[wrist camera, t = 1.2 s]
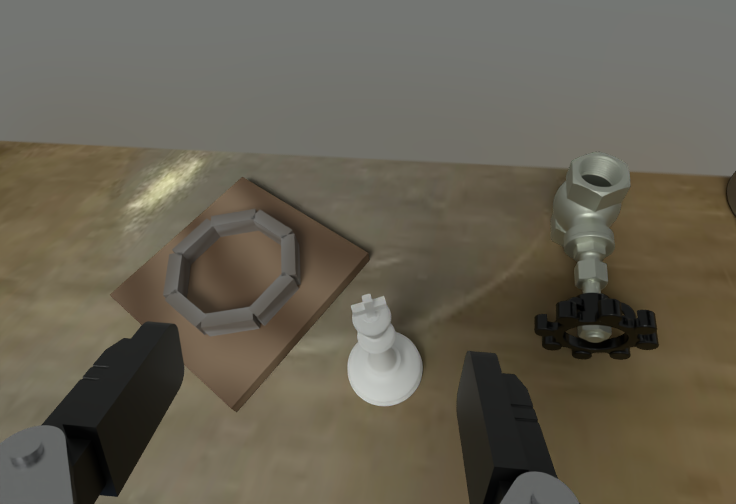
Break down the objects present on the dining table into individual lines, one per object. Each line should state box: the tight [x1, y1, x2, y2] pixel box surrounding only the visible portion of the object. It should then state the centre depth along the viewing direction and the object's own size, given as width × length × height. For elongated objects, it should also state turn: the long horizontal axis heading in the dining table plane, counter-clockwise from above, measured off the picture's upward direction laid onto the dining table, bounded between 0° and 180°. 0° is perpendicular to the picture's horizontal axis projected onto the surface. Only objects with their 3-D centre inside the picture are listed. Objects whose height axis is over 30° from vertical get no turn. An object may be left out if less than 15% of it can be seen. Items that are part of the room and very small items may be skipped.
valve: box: [534, 152, 659, 360], centre depth 29 cm, size 7×7×12 cm
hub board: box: [110, 177, 370, 412], centre depth 34 cm, size 14×14×2 cm
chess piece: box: [348, 294, 423, 406], centre depth 26 cm, size 5×5×10 cm
